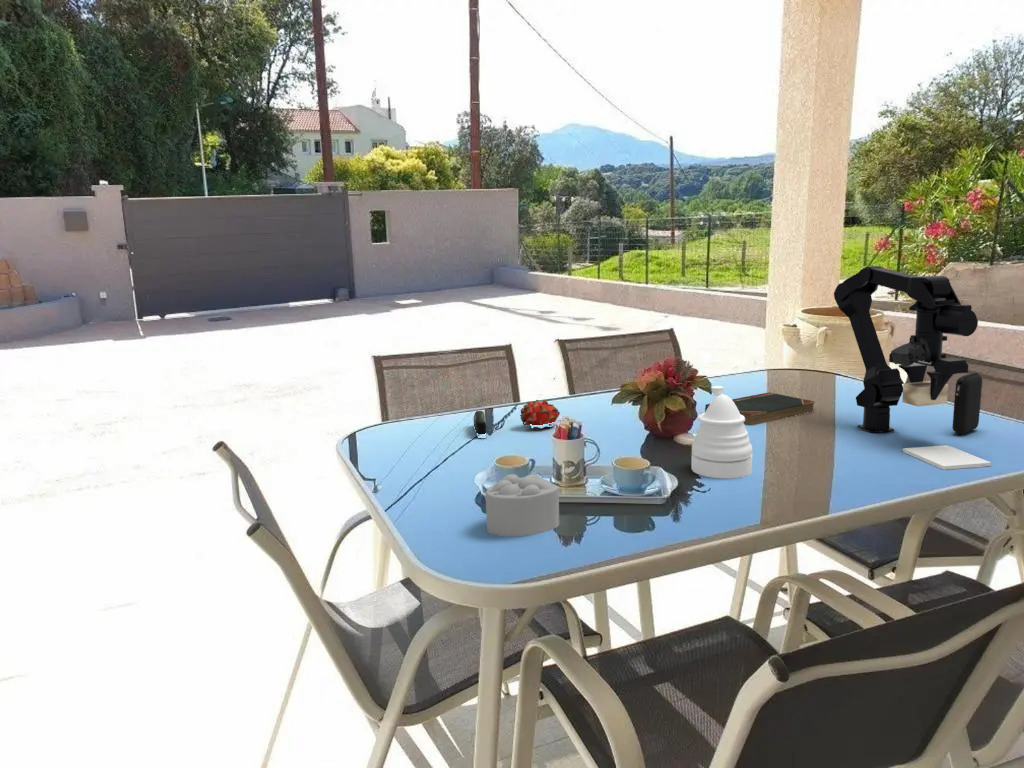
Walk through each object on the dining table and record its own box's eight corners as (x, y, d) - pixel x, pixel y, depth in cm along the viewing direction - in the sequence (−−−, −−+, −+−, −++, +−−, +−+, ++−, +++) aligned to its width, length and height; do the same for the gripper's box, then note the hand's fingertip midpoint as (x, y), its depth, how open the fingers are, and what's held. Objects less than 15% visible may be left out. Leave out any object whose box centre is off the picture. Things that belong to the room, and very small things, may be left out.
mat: (902, 451, 183) (903, 448, 183) (946, 448, 184) (947, 445, 184) (943, 469, 169) (943, 466, 169) (990, 466, 171) (991, 462, 171)
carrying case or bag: (960, 438, 192) (964, 378, 190) (947, 435, 195) (951, 376, 192) (980, 430, 199) (985, 372, 196) (967, 428, 201) (972, 370, 198)
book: (751, 427, 210) (815, 413, 222) (751, 414, 209) (816, 401, 222) (704, 415, 225) (767, 403, 237) (704, 403, 224) (767, 391, 236)
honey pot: (679, 465, 178) (680, 386, 175) (727, 457, 183) (729, 380, 179) (714, 481, 167) (715, 397, 163) (764, 473, 171) (767, 390, 168)
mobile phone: (487, 421, 205) (482, 407, 219) (475, 422, 205) (471, 407, 219) (488, 440, 206) (483, 424, 221) (476, 440, 206) (472, 425, 220)
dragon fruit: (516, 436, 213) (556, 436, 218) (529, 423, 207) (570, 424, 212) (511, 407, 217) (550, 408, 222) (524, 393, 210) (564, 395, 215)
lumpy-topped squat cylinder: (565, 526, 145) (565, 481, 143) (503, 542, 139) (501, 494, 137) (536, 510, 154) (535, 466, 152) (475, 524, 148) (474, 479, 146)
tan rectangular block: (902, 402, 189) (903, 383, 188) (930, 399, 191) (932, 380, 190) (917, 406, 184) (919, 387, 183) (946, 403, 186) (948, 384, 185)
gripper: (871, 329, 191) (868, 393, 194) (930, 338, 173) (925, 408, 176) (911, 326, 194) (907, 389, 197) (972, 335, 176) (967, 404, 179)
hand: (924, 397), depth 187 cm, fingers closed on tan rectangular block, 5 cm apart
